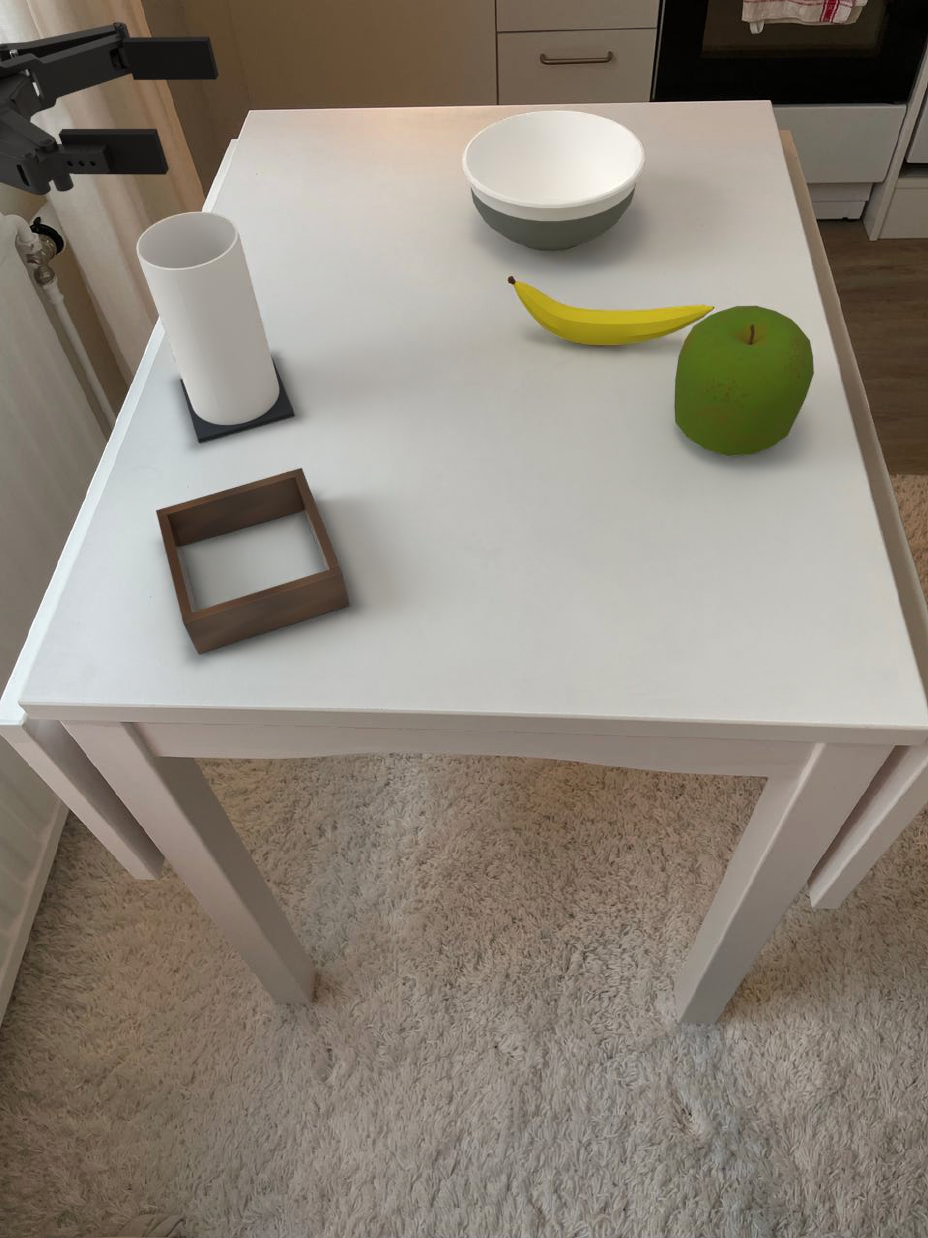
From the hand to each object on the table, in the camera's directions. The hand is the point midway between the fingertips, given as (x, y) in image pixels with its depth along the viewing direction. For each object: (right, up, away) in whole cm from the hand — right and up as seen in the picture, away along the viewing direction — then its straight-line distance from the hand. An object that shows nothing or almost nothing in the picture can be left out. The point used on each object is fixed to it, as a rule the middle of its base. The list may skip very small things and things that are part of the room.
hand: (189, 102), depth 67 cm
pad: (-2, -16, +22) cm, 27 cm away
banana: (+33, -10, +25) cm, 42 cm away
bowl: (+29, +6, +37) cm, 47 cm away
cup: (-2, -16, +22) cm, 27 cm away
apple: (+43, -20, +17) cm, 50 cm away
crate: (+3, -33, +10) cm, 34 cm away
